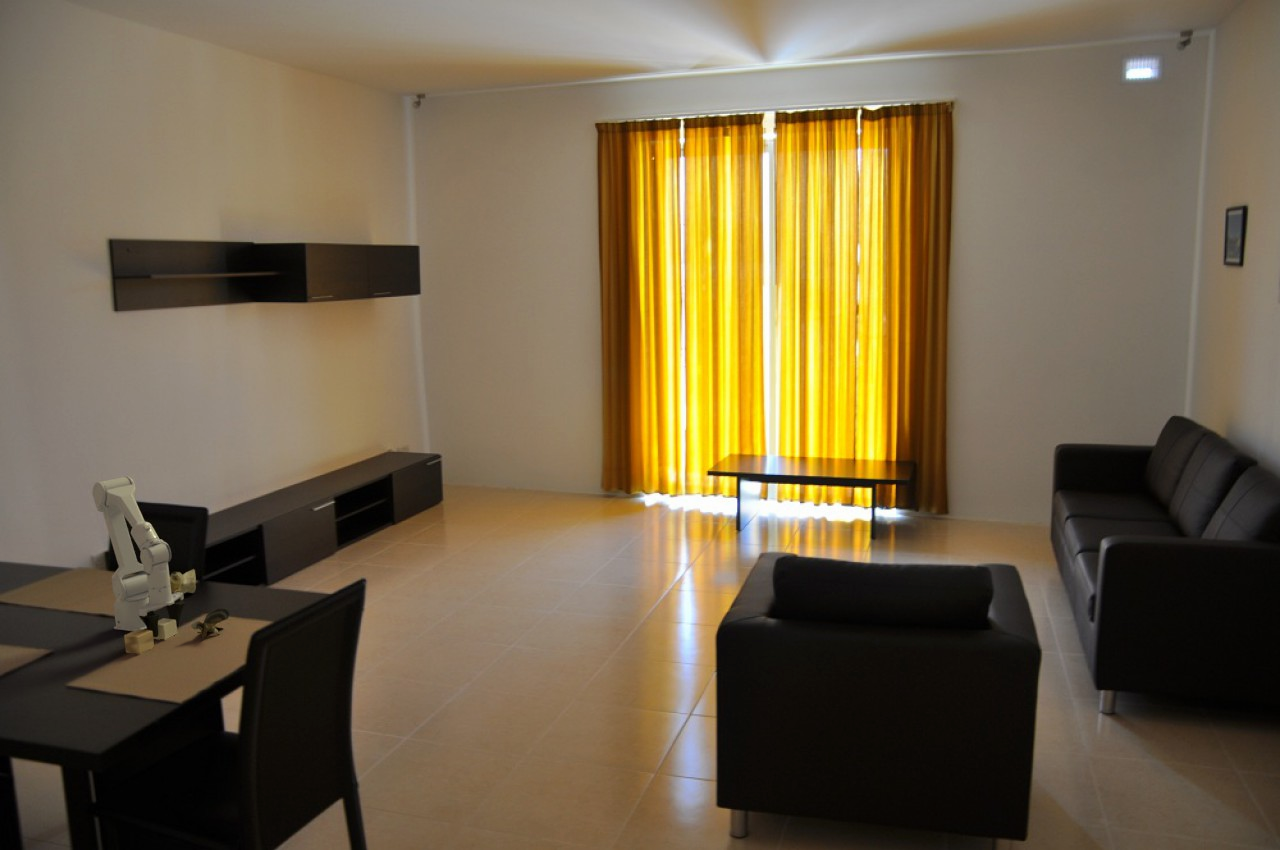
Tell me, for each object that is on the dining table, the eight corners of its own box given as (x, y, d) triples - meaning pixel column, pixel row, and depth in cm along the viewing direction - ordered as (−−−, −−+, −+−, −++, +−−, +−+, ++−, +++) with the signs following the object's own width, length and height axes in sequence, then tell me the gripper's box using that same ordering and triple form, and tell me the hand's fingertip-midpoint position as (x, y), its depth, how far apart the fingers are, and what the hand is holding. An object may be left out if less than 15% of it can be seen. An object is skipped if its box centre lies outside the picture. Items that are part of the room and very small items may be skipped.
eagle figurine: (222, 636, 293) (237, 618, 302) (203, 616, 291) (219, 598, 300) (202, 650, 295) (217, 631, 304) (183, 630, 293) (199, 612, 302)
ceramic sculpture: (203, 566, 332) (159, 582, 320) (207, 592, 334) (164, 609, 322) (183, 562, 338) (140, 577, 326) (188, 587, 340) (144, 603, 328)
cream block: (153, 638, 296) (151, 623, 295) (165, 633, 300) (163, 618, 299) (165, 640, 294) (163, 625, 294) (177, 634, 299) (175, 619, 298)
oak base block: (126, 652, 286) (124, 635, 285) (140, 645, 291) (138, 628, 290) (140, 654, 285) (138, 637, 284) (154, 647, 289) (152, 630, 288)
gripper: (150, 595, 286) (155, 642, 289) (189, 579, 300) (194, 624, 302) (130, 593, 289) (136, 639, 291) (170, 577, 302) (175, 621, 305)
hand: (164, 631), depth 297 cm, fingers open, 7 cm apart
